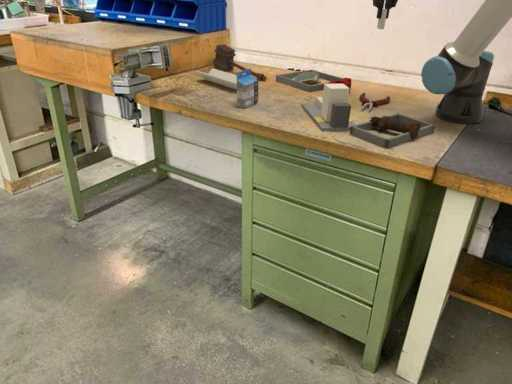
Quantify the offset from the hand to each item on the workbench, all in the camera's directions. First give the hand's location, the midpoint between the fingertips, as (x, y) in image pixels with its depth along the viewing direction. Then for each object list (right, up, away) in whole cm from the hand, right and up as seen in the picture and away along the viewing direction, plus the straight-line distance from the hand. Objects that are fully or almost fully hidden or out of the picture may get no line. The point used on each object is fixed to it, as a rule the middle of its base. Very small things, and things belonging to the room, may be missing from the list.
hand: (380, 28), depth 149 cm
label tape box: (-48, -27, +4) cm, 55 cm away
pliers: (-2, -26, +10) cm, 27 cm away
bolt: (-2, -40, -18) cm, 44 cm away
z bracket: (-57, -13, +28) cm, 65 cm away
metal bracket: (-23, -11, +36) cm, 44 cm away
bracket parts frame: (-20, -10, +35) cm, 41 cm away
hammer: (-52, -4, +45) cm, 68 cm away
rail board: (-20, -33, -6) cm, 39 cm away
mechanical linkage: (-9, -18, +23) cm, 31 cm away
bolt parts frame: (-2, -40, -18) cm, 44 cm away
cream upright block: (-19, -34, -11) cm, 41 cm away
